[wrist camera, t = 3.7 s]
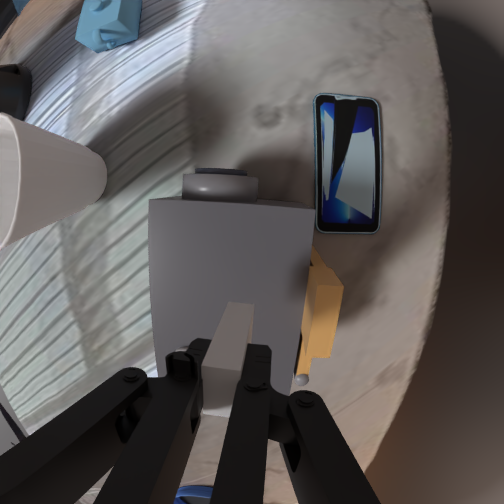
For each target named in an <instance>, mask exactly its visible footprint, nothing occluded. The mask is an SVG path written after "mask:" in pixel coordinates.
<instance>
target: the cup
mask: <svg viewBox="0 0 504 504" xmlns="http://www.w3.org/2000/svg"><path fill="white" fill-rule="evenodd" d="M106 183H107V169H106V165H105V162H104V161H103V159H102V157H101V156H100V155H99V154H97V153H95V152H93V151H91V150H90V149H89V148H88V147H86V146H83V145H81V144H79V143H76V142H74V141H71V140H69V139H66V138H64V137H61V136H59V135H56V134H54V133H51V132H49V131H46V130H44V129H41V128H39V127H36V126H34V125H31V124H29V123H26V122H23V121H21V120H18V119H16V118H13V117H12V116H11V115H8V114H6V113H3V112H2V113H0V251H1V250H2V249H3V248H4V247H6V246H8V245H10V244H12V243H13V242H15V241H17V240H19V239H21V238H23V237H25V236H27V235H29V234H31V233H33V232H35V231H37V230H39V229H41V228H44V227H46V226H48V225H50V224H52V223H54V222H56V221H59V220H61V219H63V218H65V217H68V216H70V215H72V214H74V213H77V212H79V211H81V210H83V209H84V208H86V207H87V206H88V205H91V204H93V203H95V202H96V201H97V200H98V199H99V198H100V197H101V195H102V194H103V192H104V189H105V187H106Z"/></svg>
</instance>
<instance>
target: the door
mask: <svg viewBox="0 0 504 504" xmlns="http://www.w3.org/2000/svg"><path fill="white" fill-rule="evenodd" d="M343 290H344V286H343V284H342V283H341V281H340V280H339V278H338V277H337V275H336V274H335V272H334V271H333V270H332V268H327V266H326V265H325V263H324V262H323V260H322V259H321V257H320V256H319V254H318V252H317V251H316V249H315V248H314V246H313V245H312V250H311V259H310V267H309V275H308V283H307V291H306V298H305V305H304V312H303V319H302V325H301V332H300V338H299V344H298V350H297V356H296V362H295V367H294V378H295V383H296V384H297V385H299V386H304V385H306V384H307V383H308V382H309V377H308V374H309V370H310V365H311V360H312V357H314V358H330V354H331V350H332V345H333V341H334V336H335V331H336V327H337V322H338V317H339V312H340V306H341V301H342V295H343Z"/></svg>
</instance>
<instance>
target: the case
mask: <svg viewBox="0 0 504 504" xmlns="http://www.w3.org/2000/svg"><path fill="white" fill-rule="evenodd" d="M258 179H259V178H257V177H249V176H247V171H243V170H235V169H220V168H197V169H195V174H183V186H182V196H175V197H166V198H157V199H149V216H148V250H149V282H150V301H151V315H152V327H153V338H154V347H155V356H156V364H157V372H158V377H165V376H166V374H167V371H166V361H165V357H166V356H167V355H168V354H169V353H172V352H176V351H186V350H187V349H188V347H189V345H190V343H191V342H192V341H193V340H195V339H196V338H203V339H210V340H212V339H213V337H214V334H215V332H216V330H217V327H218V325H219V323H220V320H221V318H222V316H223V314H224V311H225V309H226V307H227V304H228V302H237V303H247V304H254V313H253V326H252V339H251V344H261V345H268V346H269V347H270V349H271V350H272V359H271V379H270V382H271V386H272V387H273V388H274V389H275V390H276V391H277V392H279V393H281V394H284V395H289V394H290V389H291V383H292V378H293V373H294V367H295V362H296V356H297V350H298V344H299V338H300V332H301V325H302V319H303V312H304V305H305V298H306V291H307V283H308V275H309V267H310V259H311V250H312V241H313V232H314V222H315V211H316V210H315V209H313V208H311V207H309V206H307V205H305V204H303V203H300V202H289V201H277V200H264V199H257V193H258Z"/></svg>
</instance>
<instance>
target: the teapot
mask: <svg viewBox="0 0 504 504" xmlns="http://www.w3.org/2000/svg"><path fill="white" fill-rule="evenodd" d="M141 8H142V0H85V1H84V4H83V7H82V11H81V14H80V18H79V22H78V26H77V31H76V36H75V40H77V41H79V42H80V43H82V44H83V45H85V46H87V47H88V48H90V49H91V50H93V51H95V52H96V53H100V52H103V51H105V50H108V49H113V48H115V47H116V46H119V45H121V44H124V43H127V42H130V41H133V40H136V39H138V32H139V23H140V15H141Z"/></svg>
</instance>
